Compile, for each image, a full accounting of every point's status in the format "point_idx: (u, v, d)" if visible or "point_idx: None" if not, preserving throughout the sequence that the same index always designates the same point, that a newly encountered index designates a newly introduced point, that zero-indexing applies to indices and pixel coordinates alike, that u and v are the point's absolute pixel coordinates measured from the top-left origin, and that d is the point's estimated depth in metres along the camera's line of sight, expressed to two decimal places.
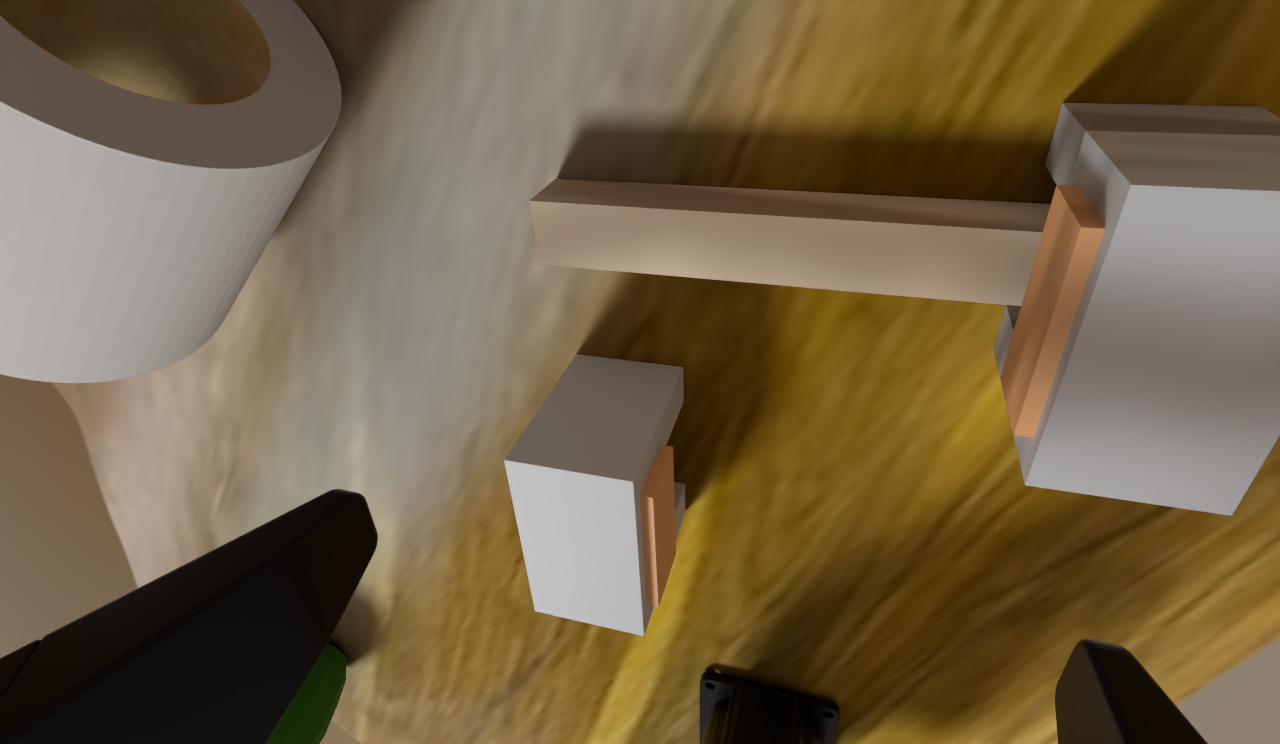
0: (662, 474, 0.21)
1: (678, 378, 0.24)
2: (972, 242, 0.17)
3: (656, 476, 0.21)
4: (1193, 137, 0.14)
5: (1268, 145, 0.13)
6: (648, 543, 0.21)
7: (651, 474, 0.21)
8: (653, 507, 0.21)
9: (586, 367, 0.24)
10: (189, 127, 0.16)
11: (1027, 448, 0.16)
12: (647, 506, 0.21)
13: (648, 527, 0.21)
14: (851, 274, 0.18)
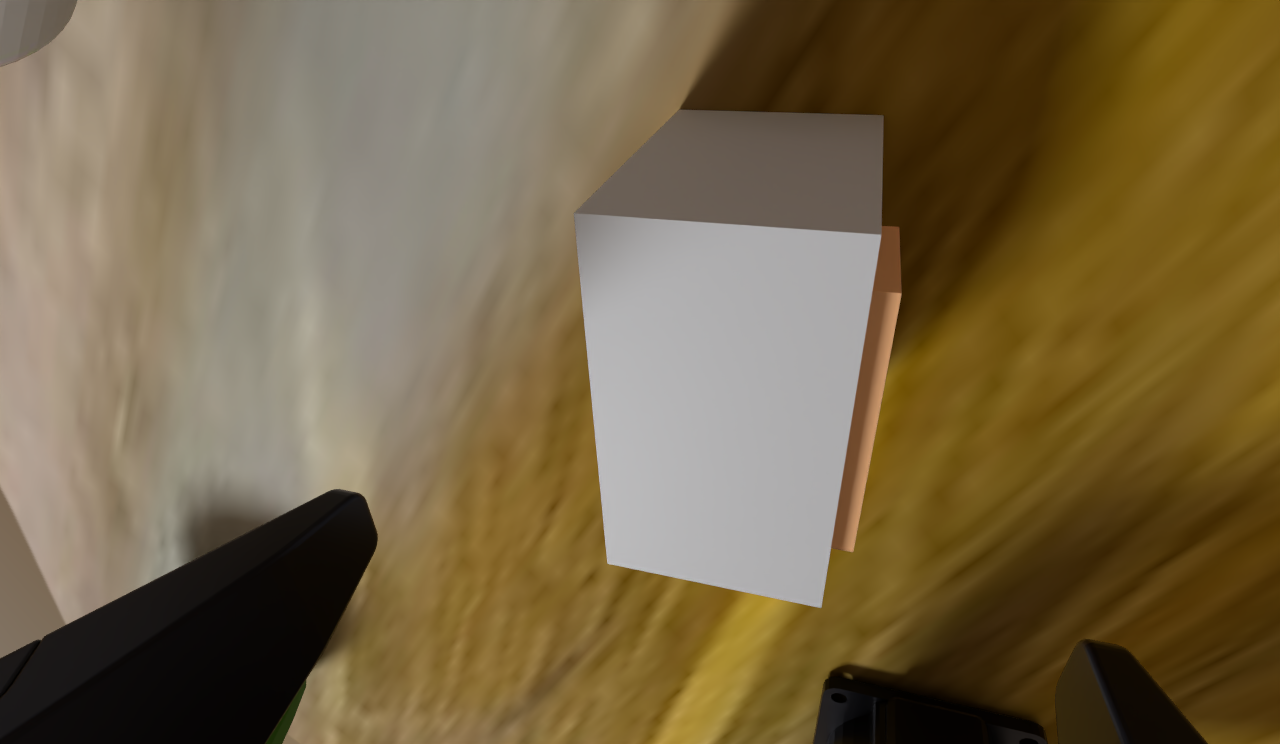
0: (899, 263, 0.10)
1: (882, 126, 0.13)
2: None
3: (889, 264, 0.10)
4: None
5: None
6: (863, 410, 0.10)
7: (877, 262, 0.10)
8: (895, 319, 0.09)
9: (703, 119, 0.13)
10: None
11: None
12: (881, 318, 0.10)
13: (873, 371, 0.10)
14: None
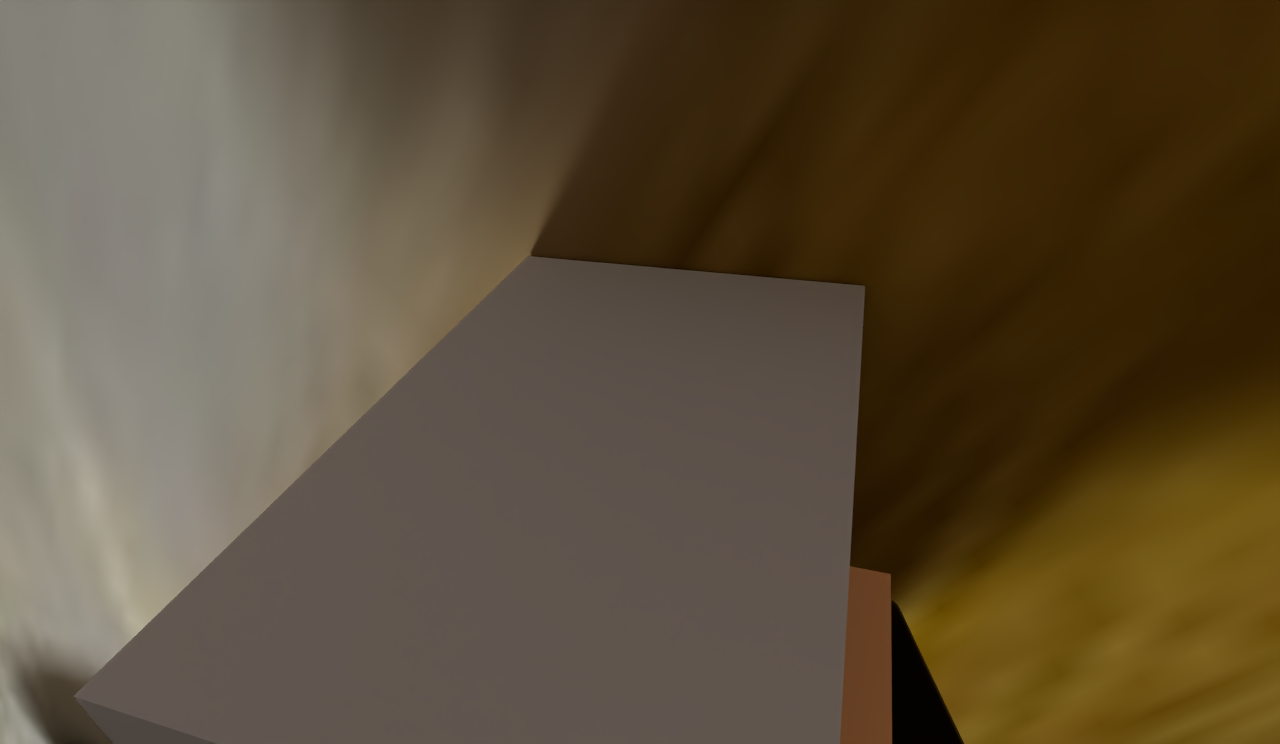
0: (888, 732, 0.04)
1: (862, 317, 0.07)
2: None
3: None
4: None
5: None
6: None
7: None
8: None
9: (554, 288, 0.08)
10: None
11: None
12: None
13: None
14: None
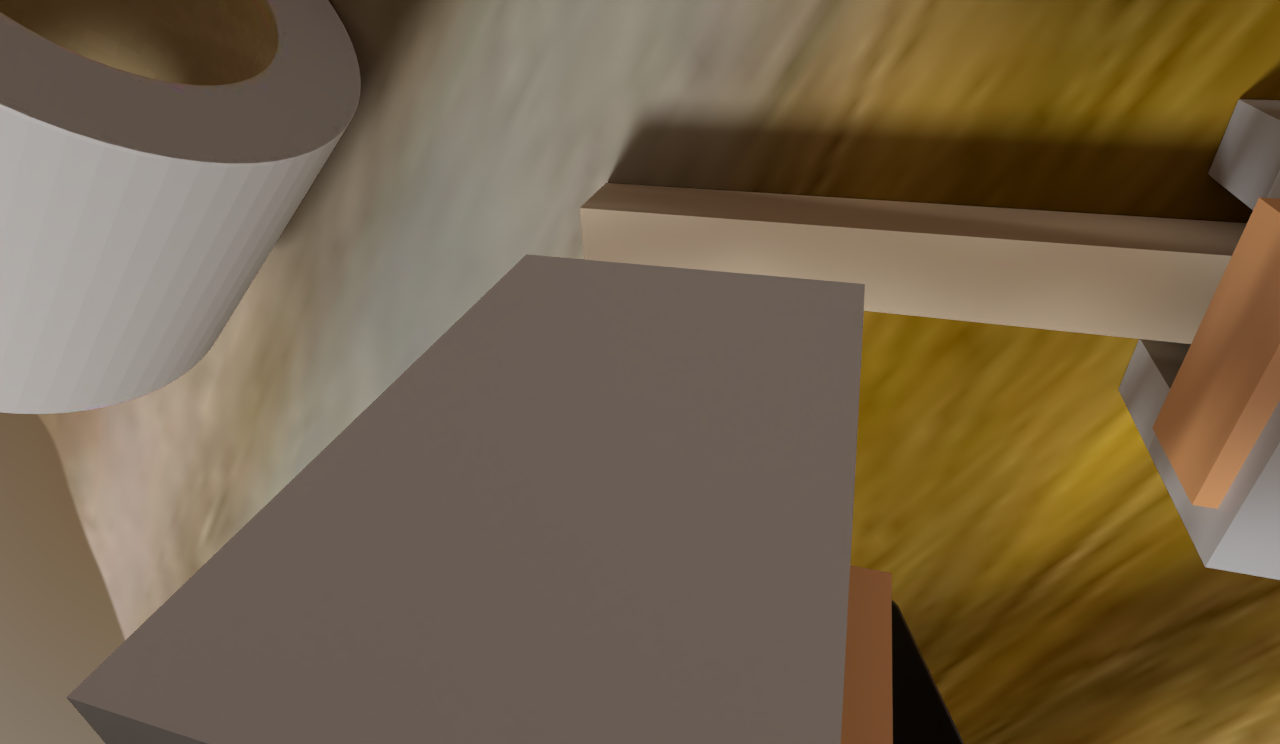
0: (889, 732, 0.04)
1: (861, 315, 0.07)
2: (1125, 265, 0.14)
3: None
4: None
5: None
6: None
7: None
8: None
9: (552, 286, 0.08)
10: (178, 111, 0.13)
11: (1205, 520, 0.13)
12: None
13: None
14: (967, 301, 0.15)
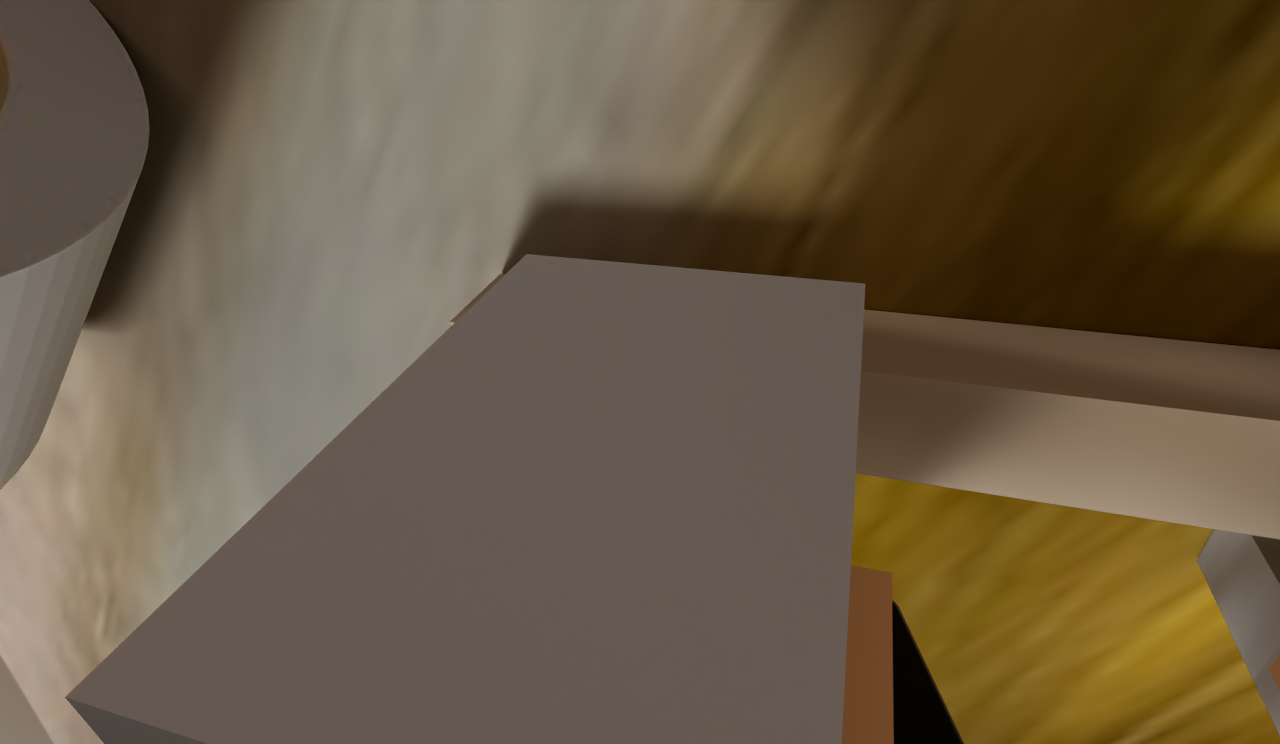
0: (890, 732, 0.04)
1: (862, 315, 0.07)
2: (1234, 439, 0.09)
3: None
4: None
5: None
6: None
7: None
8: None
9: (553, 286, 0.08)
10: None
11: None
12: None
13: None
14: (992, 469, 0.11)
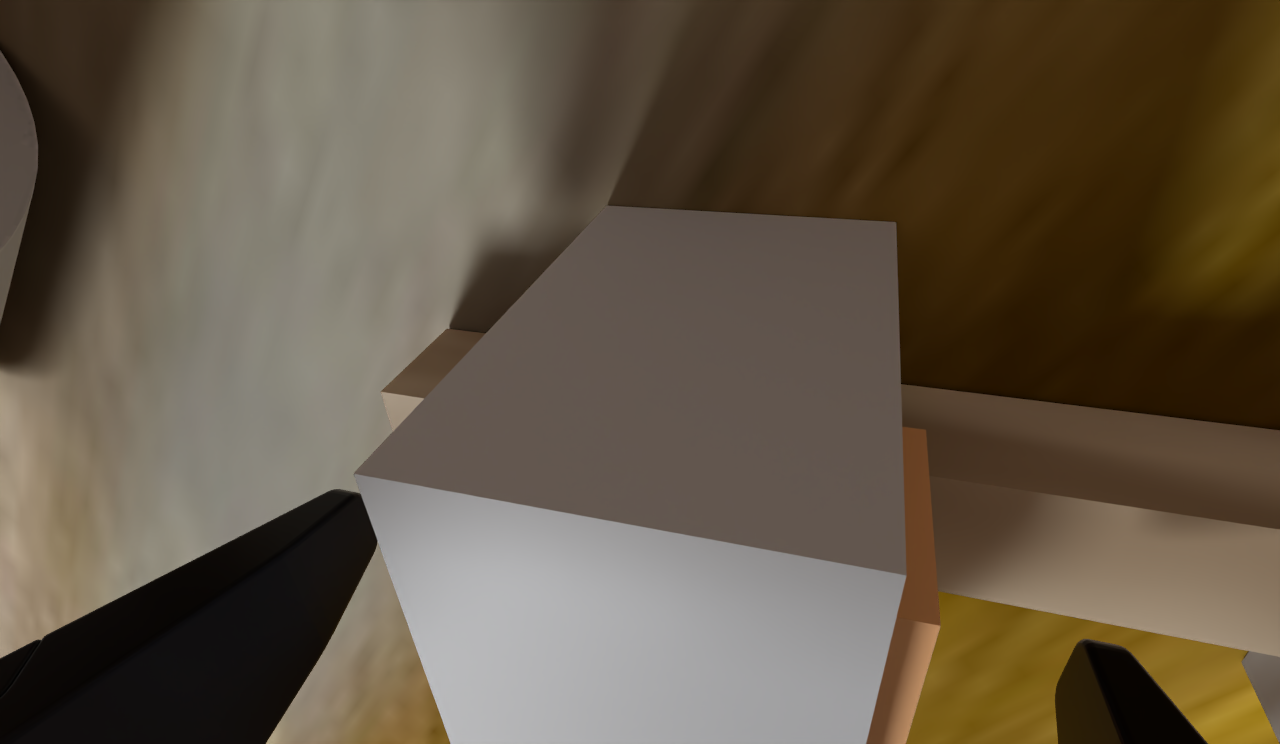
0: (930, 524, 0.06)
1: (895, 244, 0.09)
2: None
3: (914, 532, 0.06)
4: None
5: None
6: None
7: None
8: (928, 656, 0.05)
9: (635, 227, 0.09)
10: None
11: None
12: (902, 653, 0.05)
13: (887, 717, 0.06)
14: (1009, 578, 0.09)
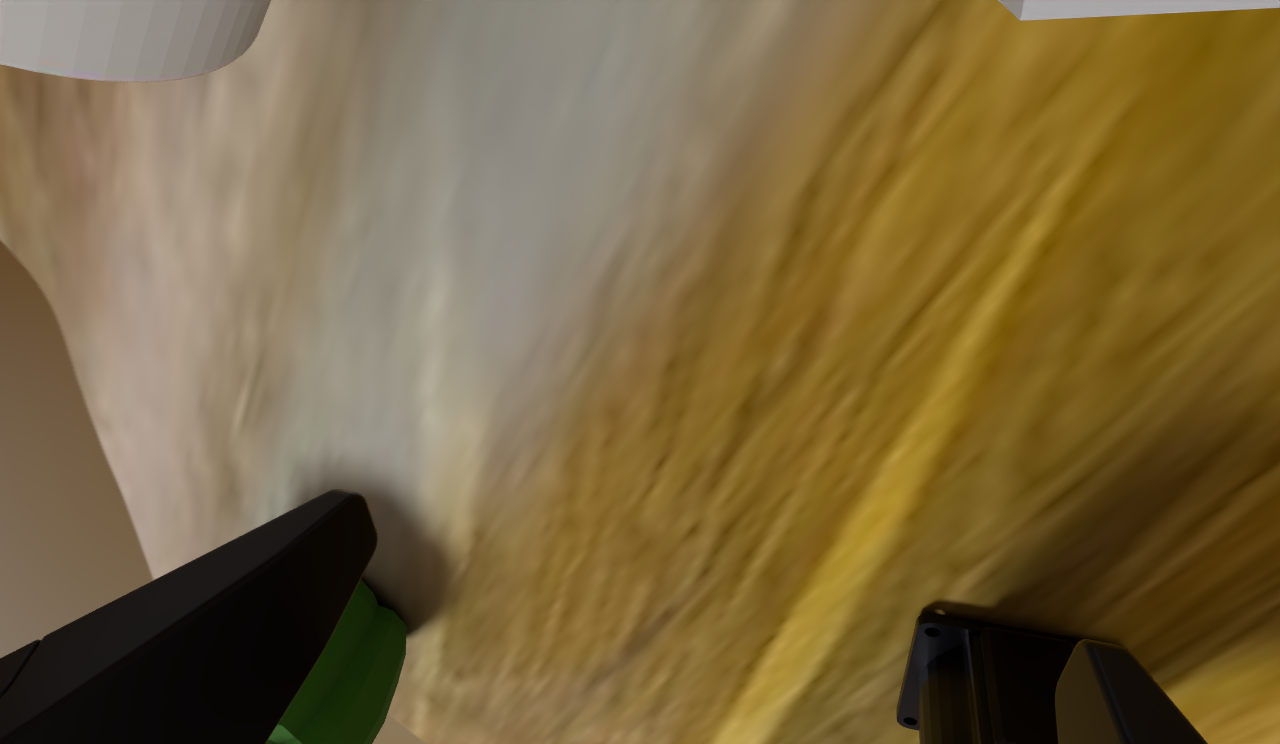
0: None
1: None
2: None
3: None
4: None
5: None
6: None
7: None
8: None
9: None
10: None
11: None
12: None
13: None
14: None
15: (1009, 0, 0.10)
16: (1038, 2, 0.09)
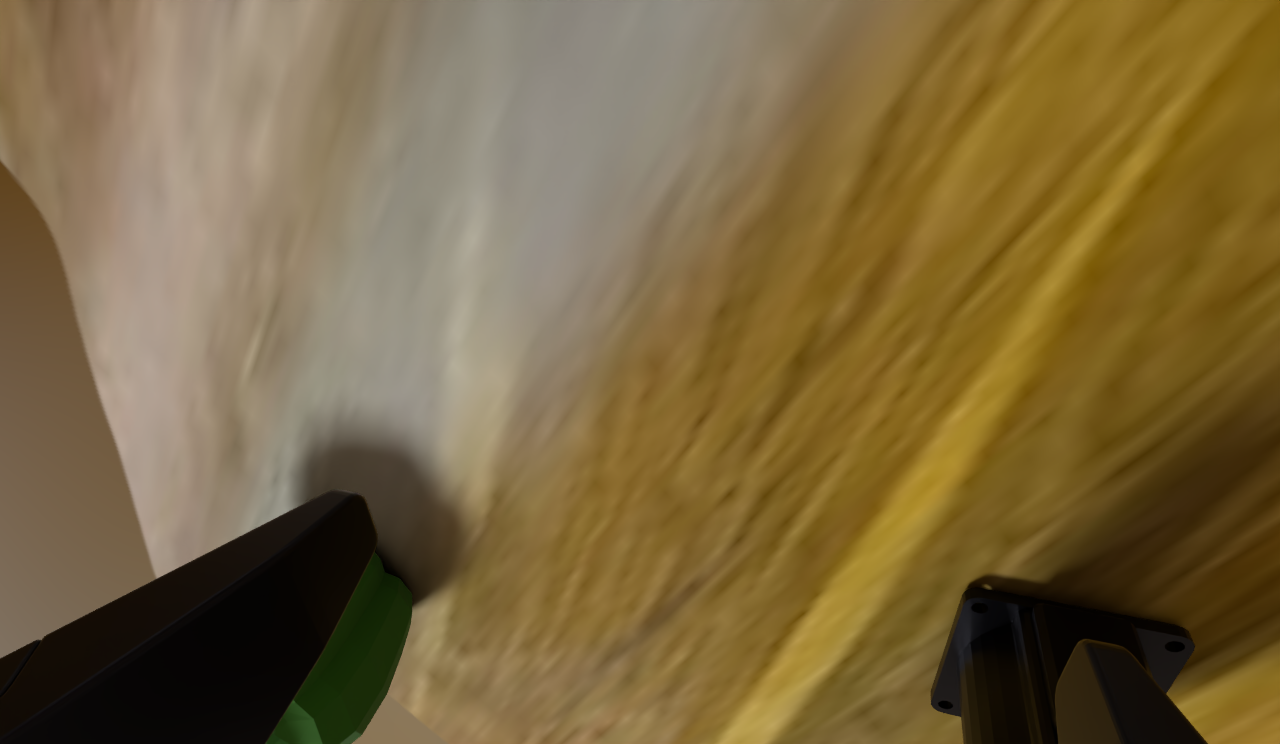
0: None
1: None
2: None
3: None
4: None
5: None
6: None
7: None
8: None
9: None
10: None
11: None
12: None
13: None
14: None
15: None
16: None
